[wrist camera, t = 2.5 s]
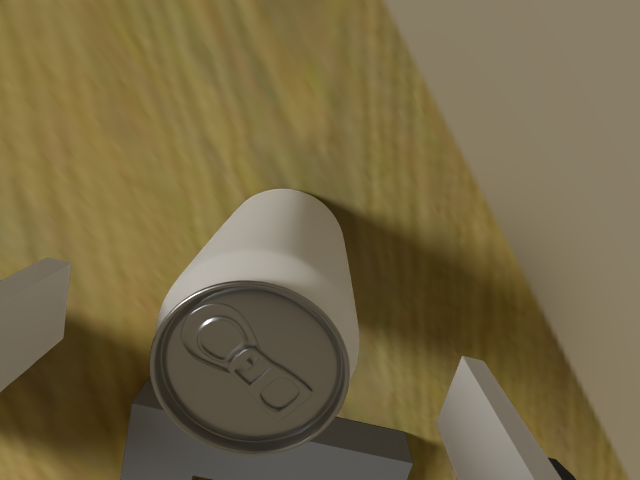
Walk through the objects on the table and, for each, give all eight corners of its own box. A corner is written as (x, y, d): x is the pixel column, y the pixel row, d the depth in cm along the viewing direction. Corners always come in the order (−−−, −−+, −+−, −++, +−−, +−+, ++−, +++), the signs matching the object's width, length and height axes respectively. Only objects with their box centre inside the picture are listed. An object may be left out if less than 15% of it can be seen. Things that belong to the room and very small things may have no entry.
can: (285, 160, 22) (245, 215, 11) (369, 248, 24) (413, 379, 12) (200, 243, 24) (85, 370, 12) (284, 321, 25) (252, 503, 13)
